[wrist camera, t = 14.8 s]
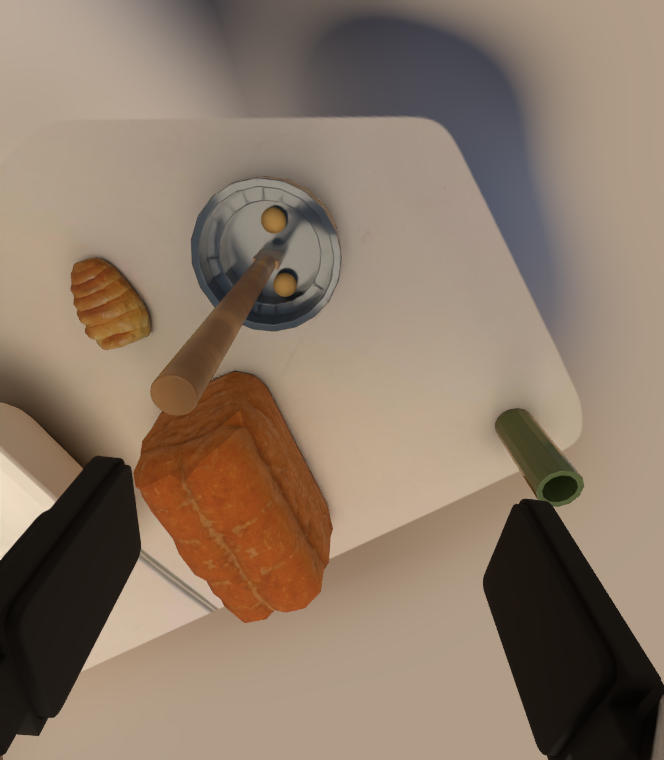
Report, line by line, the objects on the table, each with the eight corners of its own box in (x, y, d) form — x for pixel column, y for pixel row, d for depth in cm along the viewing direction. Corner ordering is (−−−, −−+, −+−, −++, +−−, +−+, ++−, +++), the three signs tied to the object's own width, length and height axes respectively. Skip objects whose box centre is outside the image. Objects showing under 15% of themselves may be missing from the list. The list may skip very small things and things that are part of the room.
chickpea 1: (288, 207, 41) (285, 209, 39) (286, 233, 42) (284, 236, 40) (263, 204, 41) (259, 206, 39) (262, 230, 42) (258, 233, 40)
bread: (258, 361, 49) (230, 435, 35) (338, 520, 60) (340, 622, 47) (154, 399, 51) (90, 481, 38) (250, 545, 62) (228, 649, 49)
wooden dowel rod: (284, 246, 42) (205, 378, 16) (283, 264, 43) (205, 419, 16) (261, 243, 42) (139, 371, 16) (260, 261, 43) (143, 412, 16)
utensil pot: (537, 410, 52) (591, 473, 41) (525, 440, 54) (573, 508, 43) (501, 406, 52) (545, 469, 41) (490, 437, 54) (530, 504, 43)
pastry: (61, 267, 44) (39, 275, 40) (119, 247, 43) (101, 254, 40) (108, 347, 48) (92, 360, 45) (162, 330, 47) (149, 343, 44)
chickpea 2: (279, 266, 43) (298, 269, 42) (284, 286, 45) (303, 290, 44) (266, 279, 42) (285, 282, 41) (272, 299, 44) (291, 303, 43)
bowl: (347, 186, 40) (349, 188, 35) (331, 318, 46) (331, 337, 41) (207, 168, 40) (188, 168, 34) (210, 305, 46) (193, 323, 40)
